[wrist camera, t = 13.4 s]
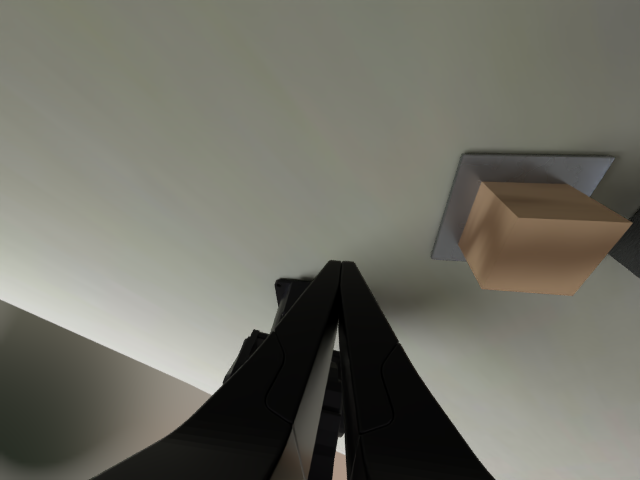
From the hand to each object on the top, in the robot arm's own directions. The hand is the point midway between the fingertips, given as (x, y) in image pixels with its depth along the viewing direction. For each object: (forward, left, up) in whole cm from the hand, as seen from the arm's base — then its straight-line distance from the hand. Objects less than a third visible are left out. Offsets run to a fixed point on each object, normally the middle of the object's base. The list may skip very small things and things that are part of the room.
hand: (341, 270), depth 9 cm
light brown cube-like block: (-4, -12, -12) cm, 17 cm away
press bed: (-4, -12, -12) cm, 17 cm away
